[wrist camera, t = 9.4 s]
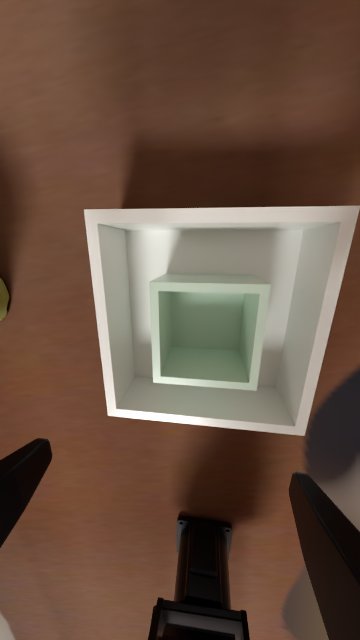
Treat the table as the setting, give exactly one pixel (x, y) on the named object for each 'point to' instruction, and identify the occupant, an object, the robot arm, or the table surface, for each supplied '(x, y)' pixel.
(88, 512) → the table surface
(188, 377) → the small crate
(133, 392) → the big crate
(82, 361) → the table surface
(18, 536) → the table surface
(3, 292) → the plant pot
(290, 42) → the table surface
